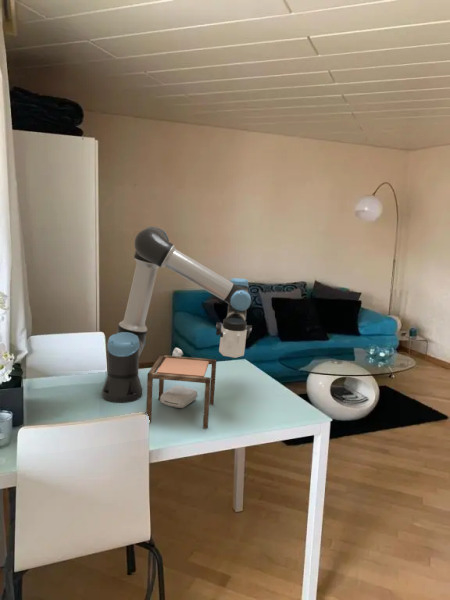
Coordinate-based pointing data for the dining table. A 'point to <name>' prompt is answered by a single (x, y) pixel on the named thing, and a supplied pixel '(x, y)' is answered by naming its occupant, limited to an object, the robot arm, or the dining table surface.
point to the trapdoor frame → (153, 375)
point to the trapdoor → (183, 367)
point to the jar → (233, 337)
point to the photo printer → (178, 396)
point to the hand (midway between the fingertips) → (230, 338)
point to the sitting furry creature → (177, 352)
